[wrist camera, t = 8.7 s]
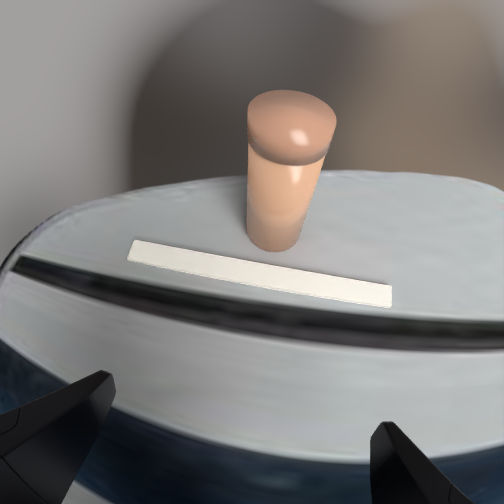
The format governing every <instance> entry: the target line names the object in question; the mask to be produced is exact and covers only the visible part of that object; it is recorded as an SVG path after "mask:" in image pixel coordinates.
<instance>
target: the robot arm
mask: <svg viewBox="0 0 504 504" xmlns="http://www.w3.org/2000/svg"><path fill="white" fill-rule="evenodd" d="M115 394H116V389H115V384H114V379H113V375H112V374H111V373H108V372H106V371H103V370H100V371H98V372H96V373H94V374H91V375H89V376H87V377H85V378H83V379H81V380H79V381H76V382H74V383H72V384H70V385H68V386H66V387H63V388H61V389H59V390H57V391H55V392H52V393H50V394H48V395H46V396H43V397H41V398H39V399H37V400H34V401H32V402H30V403H27V404H25V405H23V406H21V407H18V408H16V409H13V410H11V411H8V412H5V413H3V414H0V504H61V503H62V501H63V499H64V497H65V496H66V494H67V492H68V490H69V488H70V486H71V484H72V482H73V480H74V478H75V476H76V474H77V473H78V471H79V469H80V467H81V465H82V463H83V461H84V460H85V458H86V456H87V454H88V452H89V450H90V449H91V447H92V445H93V443H94V441H95V440H96V438H97V436H98V434H99V432H100V430H101V428H102V426H103V424H104V421H105V419H106V416H107V414H108V411H109V409H110V407H111V404H112V402H113V399H114V397H115ZM370 483H371V494H372V504H474V503H473V502H472V501H471V500H469V499H468V498H467V497H466V496H465V495H464V494H463V493H462V492H461V491H460V490H459V489H458V488H457V487H456V486H455V485H454V484H453V483H451V481H450V480H449V479H448V478H447V477H446V476H445V475H444V474H443V473H442V472H441V471H440V470H439V469H438V468H437V467H436V466H435V465H434V464H433V463H432V462H431V461H430V460H429V459H428V458H427V457H426V456H425V455H424V453H423V452H422V451H421V450H420V449H419V448H418V447H417V446H416V445H415V444H414V443H413V442H412V441H411V440H410V439H409V438H408V437H407V436H406V435H405V434H404V433H403V431H402V430H401V429H400V428H399V427H398V426H397V425H396V424H395V423H394V422H391V421H389V422H382V423H380V425H379V426H378V427H377V429H376V430H375V432H374V433H373V435H372V437H371V440H370Z"/></svg>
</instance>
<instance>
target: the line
mask: <svg viewBox="0 0 504 504" xmlns="http://www.w3.org/2000/svg"><path fill="white" fill-rule="evenodd" d="M127 259H128V261H133V262H137V263H142V264H147V265H151V266H156V267H160V268H165V269H170V270H175V271H179V272H184V273H189V274H194V275H199V276H204V277H209V278H214V279H219V280H225V281H230V282H235V283H240V284H246V285H251V286H256V287H262V288H267V289H273V290H279V291H284V292H290V293H296V294H302V295H308V296H314V297H320V298H326V299H332V300H339V301H345V302H351V303H358V304H365V305H371V306H378V307H385V308H390V307H391V302H392V286H389V285H383V284H377V283H371V282H365V281H359V280H354V279H348V278H342V277H336V276H331V275H325V274H319V273H313V272H308V271H302V270H296V269H291V268H285V267H280V266H274V265H268V264H263V263H257V262H252V261H246V260H241V259H235V258H230V257H224V256H219V255H214V254H208V253H203V252H197V251H192V250H187V249H181V248H176V247H171V246H165V245H160V244H155V243H149V242H144V241H139V240H134V242H133V244H132V247H131V249H130V252H129V255H128V257H127Z"/></svg>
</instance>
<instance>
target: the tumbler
mask: <svg viewBox="0 0 504 504" xmlns="http://www.w3.org/2000/svg"><path fill="white" fill-rule="evenodd" d="M335 127H336V116H335V114H334V112H333V110H332V109H331V108H330V107H329V106H328V105H327V104H326V103H324V102H323V101H321V100H320V99H318V98H316V97H314V96H312V95H309V94H306V93H303V92H299V91H292V90H274V91H269V92H265V93H263V94H260V95H259V96H257V97H255V98H254V99H253V100H252V101H251V102H250V104H249V106H248V123H247V139H248V142H249V146H248V184H247V224H246V229H247V234H248V237H249V239H250V240H251V241H252V243H253V244H254V245H256V246H257V247H259V248H260V249H262V250H265V251H269V252H281V251H285V250H287V249H289V248H291V247H292V246H293V245H294V244H295V243H296V242H297V240H298V238H299V236H300V233H301V230H302V227H303V224H304V221H305V218H306V215H307V211H308V208H309V205H310V202H311V199H312V196H313V193H314V190H315V187H316V183H317V180H318V177H319V174H320V171H321V167H322V164H323V161H324V158H325V155H326V154H327V152H328V150H329V147H330V143H331V140H332V136H333V133H334V130H335Z"/></svg>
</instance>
